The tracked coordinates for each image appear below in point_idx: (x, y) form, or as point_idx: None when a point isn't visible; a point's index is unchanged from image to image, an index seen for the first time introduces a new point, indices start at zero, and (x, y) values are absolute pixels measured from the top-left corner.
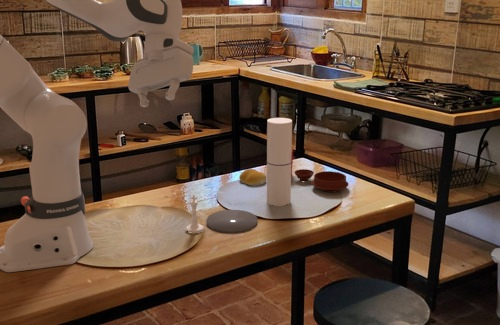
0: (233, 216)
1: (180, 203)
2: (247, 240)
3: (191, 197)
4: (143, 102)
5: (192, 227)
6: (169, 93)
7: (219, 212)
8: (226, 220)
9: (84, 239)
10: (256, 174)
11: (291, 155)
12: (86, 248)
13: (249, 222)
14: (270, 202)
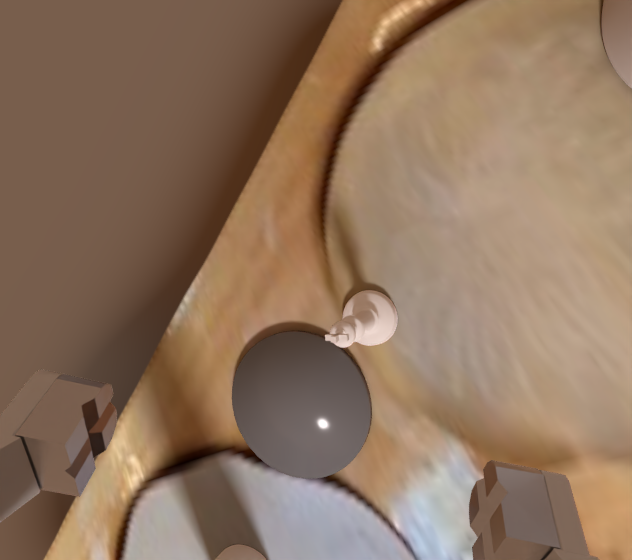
0: (302, 427)
1: None
2: (220, 307)
3: (343, 335)
4: (499, 478)
5: (366, 306)
6: (15, 399)
7: (352, 445)
8: (307, 394)
9: (622, 9)
10: None
11: None
12: (608, 19)
13: (247, 399)
14: (252, 554)
